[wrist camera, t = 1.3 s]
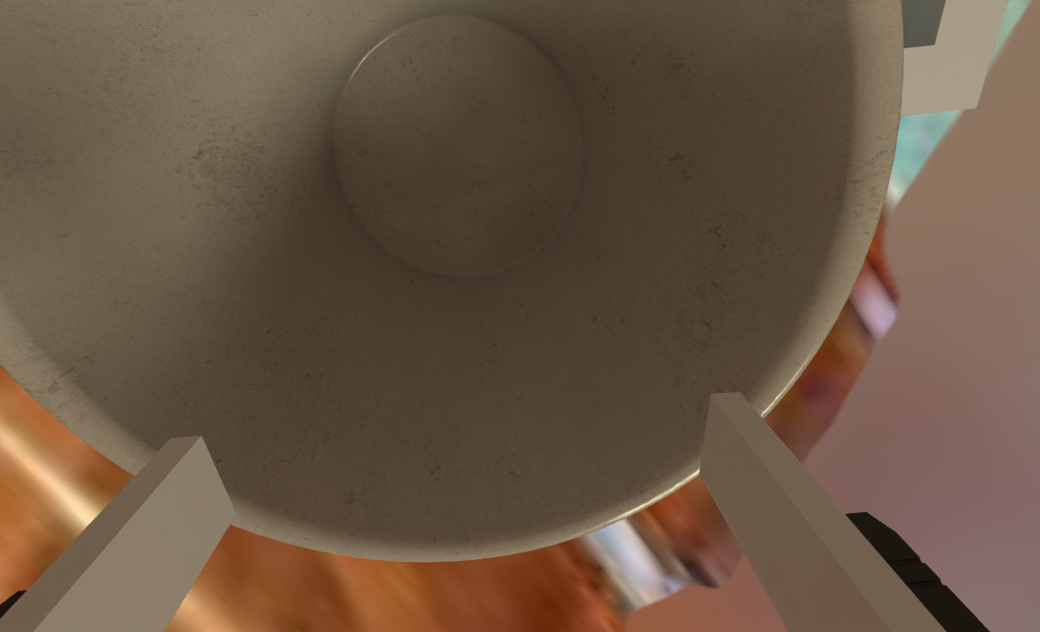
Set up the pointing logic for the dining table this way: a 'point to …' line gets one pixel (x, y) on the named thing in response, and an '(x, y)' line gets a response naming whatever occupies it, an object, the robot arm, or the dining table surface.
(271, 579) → the dining table surface
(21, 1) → the planter
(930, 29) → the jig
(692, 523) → the dining table surface
